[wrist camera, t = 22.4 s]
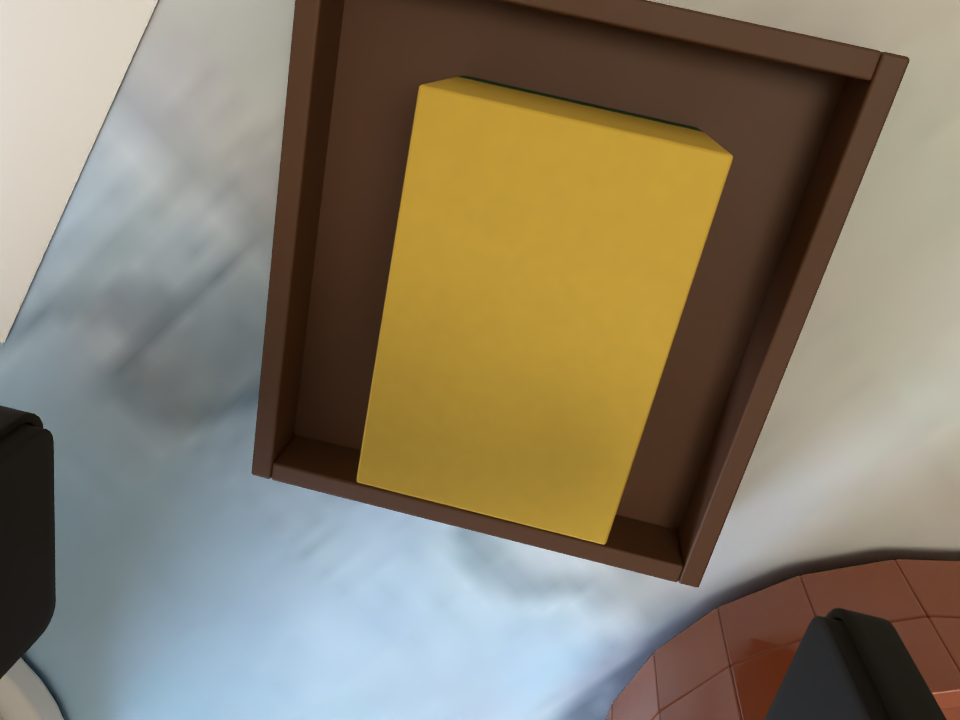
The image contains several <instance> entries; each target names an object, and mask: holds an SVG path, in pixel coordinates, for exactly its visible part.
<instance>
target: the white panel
mask: <svg viewBox="0 0 960 720" xmlns="http://www.w3.org/2000/svg"><path fill="white" fill-rule="evenodd" d="M157 2H158V0H0V341H1V342H2V343H4V342H5V340H6V338H7V336H8V333H9V331H10V329H11V327H12V324H13V322H14V320H15V318H16V316H17V313H18V311H19V309H20V307H21V304H22V302H23V300H24V298H25V296H26V293H27V291H28V289H29V287H30V284H31V282H32V280H33V278H34V275H35V273H36V271H37V269H38V267H39V264H40V262H41V260H42V258H43V255H44V253H45V251H46V249H47V247H48V244H49V242H50V240H51V238H52V235H53V233H54V231H55V229H56V226H57V224H58V222H59V220H60V218H61V215H62V213H63V211H64V209H65V206H66V204H67V202H68V200H69V198H70V195H71V193H72V191H73V189H74V186H75V184H76V182H77V180H78V178H79V175H80V173H81V171H82V169H83V166H84V164H85V162H86V160H87V157H88V155H89V153H90V151H91V149H92V146H93V144H94V142H95V140H96V137H97V135H98V133H99V131H100V129H101V126H102V124H103V122H104V120H105V117H106V115H107V113H108V111H109V108H110V106H111V104H112V102H113V100H114V97H115V95H116V93H117V91H118V88H119V86H120V84H121V82H122V80H123V77H124V75H125V73H126V71H127V68H128V66H129V64H130V62H131V59H132V57H133V55H134V53H135V51H136V48H137V46H138V44H139V42H140V39H141V37H142V35H143V33H144V31H145V28H146V26H147V24H148V22H149V19H150V17H151V15H152V13H153V11H154V8H155V6H156V4H157Z"/></svg>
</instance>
